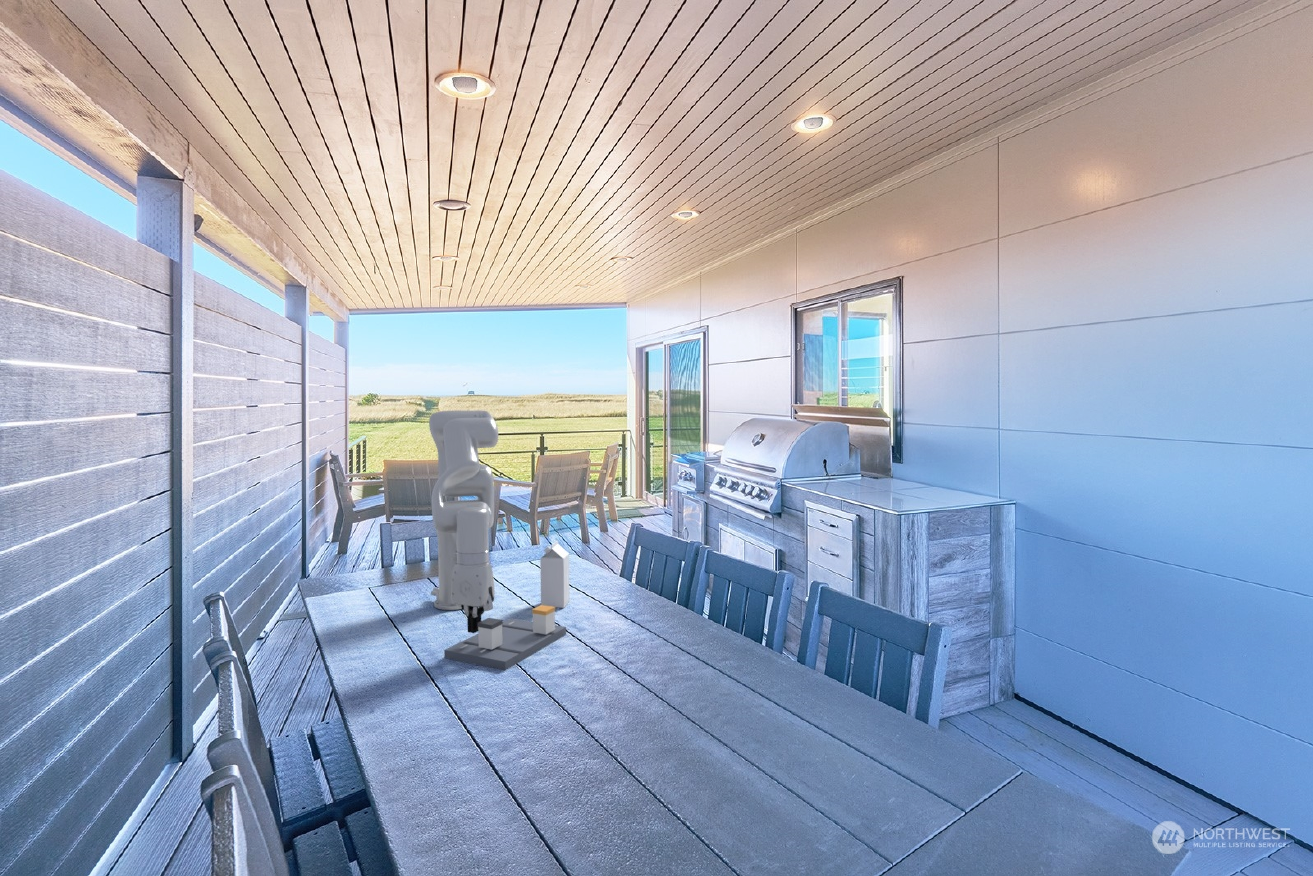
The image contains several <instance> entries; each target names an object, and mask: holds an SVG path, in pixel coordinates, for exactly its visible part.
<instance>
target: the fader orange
mask: <svg viewBox="0 0 1313 876" xmlns="http://www.w3.org/2000/svg"><path fill="white" fill-rule="evenodd" d="M555 611H556V608H555V607H552V606H545V605H541V604H540V605H539V606H536V607H534V608H532V609H531V612H532V622H533V632H534V633H540V634H548V633H550V632H552V631H553V630H555V624H556V622H555V621H556V617H555V616H556V613H555Z"/></svg>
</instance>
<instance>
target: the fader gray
mask: <svg viewBox="0 0 1313 876" xmlns="http://www.w3.org/2000/svg"><path fill="white" fill-rule="evenodd" d="M503 621H504V620H503V619H498V618H493V617H487V618H484V619H483V620H481V622H478V633H477V634H478V636H479V647H481V648H486V649H491V650H492V649H494V648H496V647H498V646H500V645H502V624H503Z"/></svg>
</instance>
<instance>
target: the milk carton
mask: <svg viewBox="0 0 1313 876" xmlns="http://www.w3.org/2000/svg"><path fill="white" fill-rule="evenodd" d="M543 552H544V553H545V554H544V555H542V556H540V558H539V559H540V561H539V563H540V565H539V566H540V568H539V570H540V605H545V606H552V607H555V609H556V608H561V609H565V608H566V606H567V605H568V604H569V602H570V553H569V552H568V551H567V550H566V549H565V548H563V547H562V546H561V545H560V544H559V541H558V539H557V540H555V541H554V542H553V543H552V544H551V546H550V545H548V546H546V547H545V549H544V550H543Z"/></svg>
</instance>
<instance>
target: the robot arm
mask: <svg viewBox="0 0 1313 876" xmlns="http://www.w3.org/2000/svg"><path fill="white" fill-rule="evenodd" d="M429 416H430V417H429V420H428V426H429V432H430V435H431V437H432V439H433V441H434V445H435V447H436V450H437V459H438V462H437V465H438V467H437V468H438V479H437V481H436V482H435V484H434V486H433V489H432V492H431V514H432V524H433V527H434V529H435V531H436V537H437V538H436V539H437V557H438V558H437V559H438V560H437V561H438V587H436V586H435V587H433V589H432V590H431V591H430V595H431V596H436V599H435V601H433V606H434V608H436V609H439V610H443V611H455V610H462V611H464V616H465V617H467V619H466V620H467V624H466V625H467V632H468V633H471V634H475V633H477V632H478V622H481V621H482V615H483V614H484V613H485V612H488V611H491V610H493V609H494V605H493V602H494V601H495V580H494V573H493V567H492V563H491V562H490V549H489V547H490V546H489V545H490V544H489V543H490V540H489V537H490V536H489V529H491V528H492V527H493V526H494V522H495V482H494V475H493V474H494V473H493V471H492V468H491V467H490V466H488V465H487V464H480V458H479V451H478V450H479V449H491V448H494V447H496V446H497V443H498V440H499V430H498V429H499V428H498V426H497V423H496V420H495V419H494V416H492V414H491V413H490V412H489V411H487V410H441V411H436V412H434V413H431V415H429ZM443 497H447V498H461V497H462V498H463V497H477V499H463V500H462V499H460V500H457V499H456V500H447V501H444V499H443Z"/></svg>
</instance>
